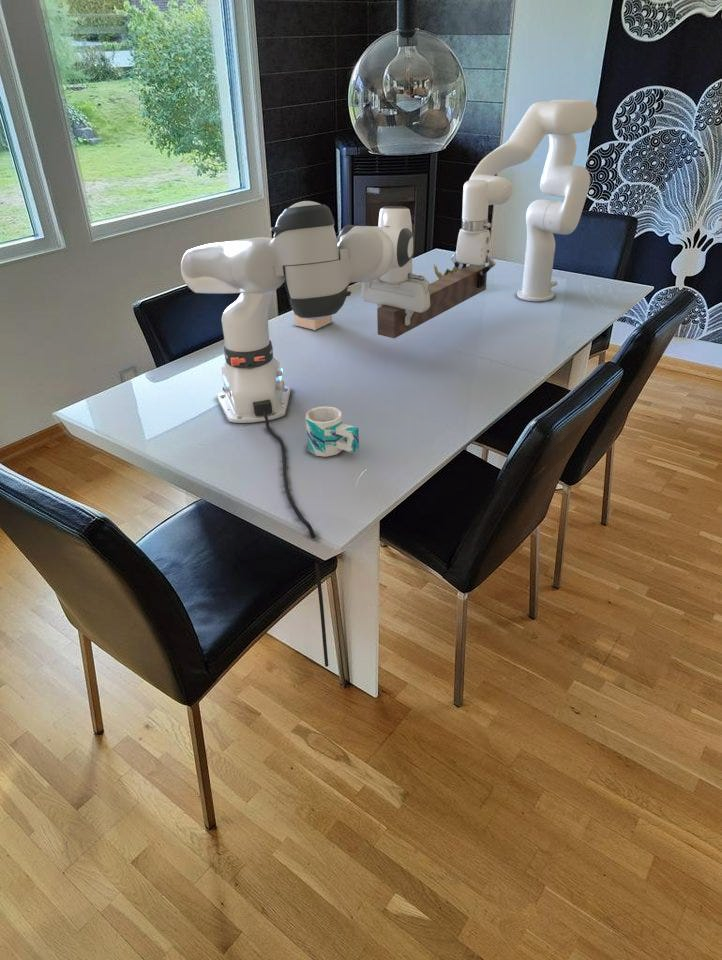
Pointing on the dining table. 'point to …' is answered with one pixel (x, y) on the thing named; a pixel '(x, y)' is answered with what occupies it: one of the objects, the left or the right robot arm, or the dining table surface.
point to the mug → (329, 432)
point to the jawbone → (445, 272)
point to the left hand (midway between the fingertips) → (395, 322)
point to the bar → (432, 301)
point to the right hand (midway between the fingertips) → (471, 284)
